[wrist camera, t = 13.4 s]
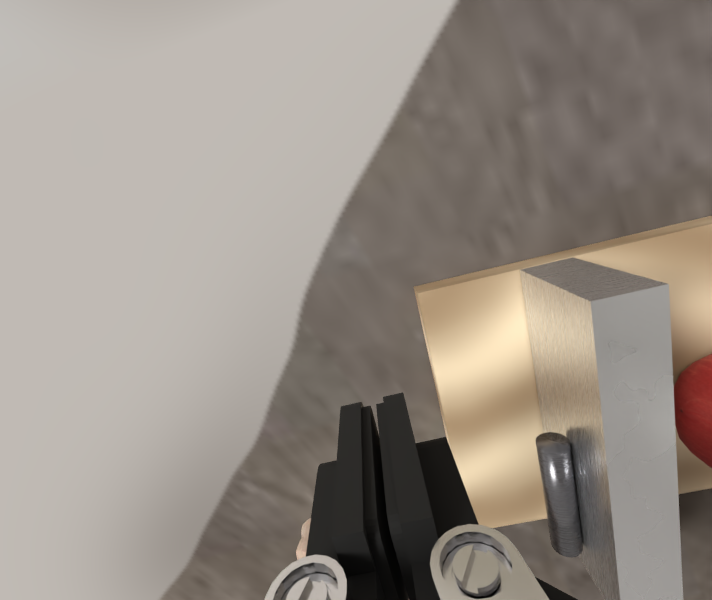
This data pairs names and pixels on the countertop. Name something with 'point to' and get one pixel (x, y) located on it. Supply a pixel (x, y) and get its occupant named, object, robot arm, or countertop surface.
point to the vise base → (516, 370)
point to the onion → (695, 408)
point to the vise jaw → (607, 424)
